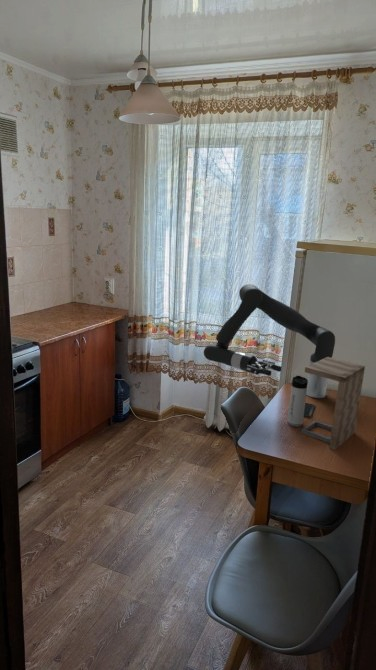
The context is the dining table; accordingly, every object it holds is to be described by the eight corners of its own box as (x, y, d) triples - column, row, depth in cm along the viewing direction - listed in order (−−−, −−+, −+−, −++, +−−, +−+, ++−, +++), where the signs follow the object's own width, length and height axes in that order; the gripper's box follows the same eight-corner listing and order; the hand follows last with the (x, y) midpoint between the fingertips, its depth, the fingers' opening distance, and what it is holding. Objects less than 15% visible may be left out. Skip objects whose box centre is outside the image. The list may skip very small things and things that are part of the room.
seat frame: (314, 423, 193) (314, 420, 192) (342, 433, 185) (342, 429, 185) (301, 432, 184) (301, 429, 183) (329, 443, 176) (330, 439, 176)
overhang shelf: (318, 420, 196) (327, 356, 189) (354, 432, 186) (365, 366, 179) (296, 435, 181) (305, 367, 174) (334, 450, 171) (345, 377, 164)
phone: (315, 404, 211) (310, 416, 198) (315, 406, 211) (310, 419, 198) (298, 401, 214) (292, 412, 200) (297, 403, 214) (292, 415, 201)
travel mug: (299, 420, 195) (305, 375, 190) (304, 427, 189) (310, 381, 184) (285, 419, 195) (290, 375, 190) (289, 426, 189) (294, 380, 184)
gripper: (235, 356, 197) (268, 366, 187) (253, 350, 208) (285, 359, 198) (233, 373, 199) (266, 383, 189) (251, 366, 210) (283, 376, 200)
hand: (276, 371), depth 194 cm, fingers open, 8 cm apart
